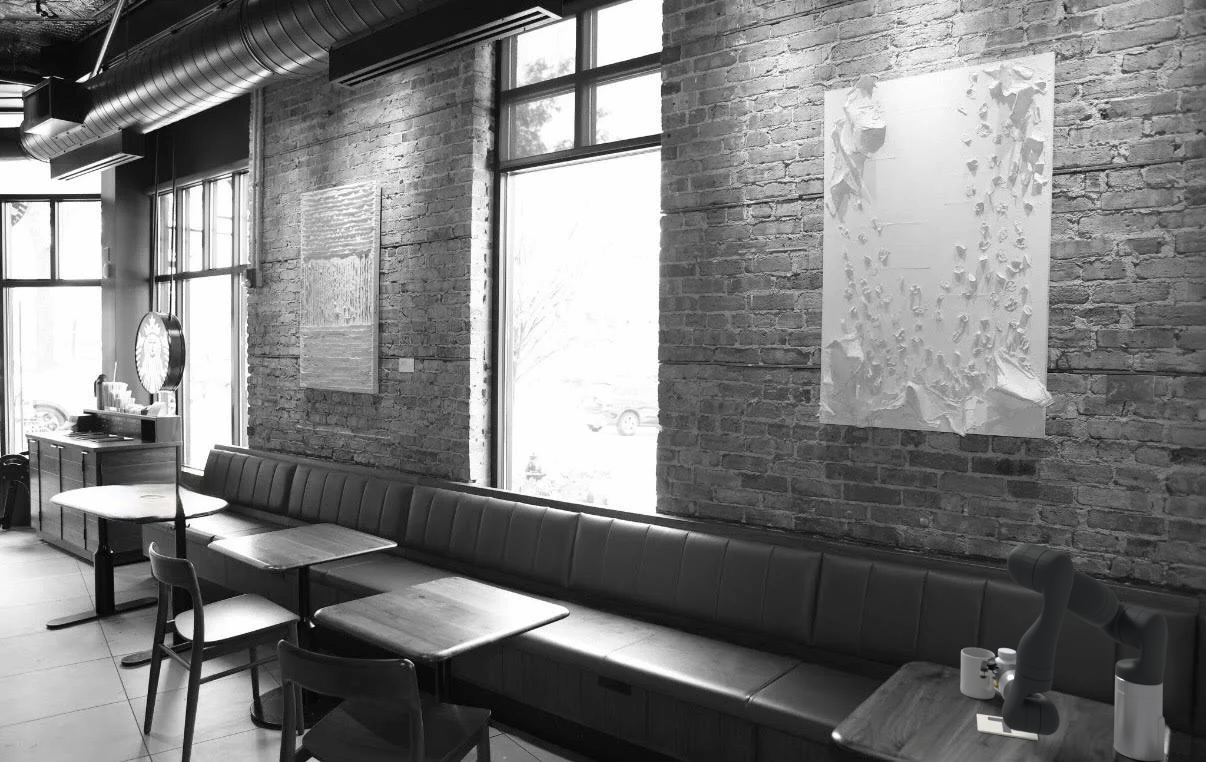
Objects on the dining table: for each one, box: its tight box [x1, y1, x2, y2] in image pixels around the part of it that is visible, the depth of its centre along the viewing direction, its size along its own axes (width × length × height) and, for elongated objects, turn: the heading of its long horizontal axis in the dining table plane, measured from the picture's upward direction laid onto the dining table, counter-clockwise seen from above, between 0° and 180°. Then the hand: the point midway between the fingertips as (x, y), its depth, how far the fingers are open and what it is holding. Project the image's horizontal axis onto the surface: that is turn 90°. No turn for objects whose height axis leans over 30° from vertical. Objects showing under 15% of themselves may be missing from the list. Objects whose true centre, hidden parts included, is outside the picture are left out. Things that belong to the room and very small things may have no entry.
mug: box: [959, 647, 996, 700], centre depth 226 cm, size 12×8×11 cm
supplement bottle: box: [994, 647, 1017, 693], centre depth 206 cm, size 5×5×10 cm
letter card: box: [976, 713, 1039, 741], centre depth 207 cm, size 13×10×1 cm
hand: (1005, 662), depth 208 cm, fingers closed on supplement bottle, 5 cm apart
